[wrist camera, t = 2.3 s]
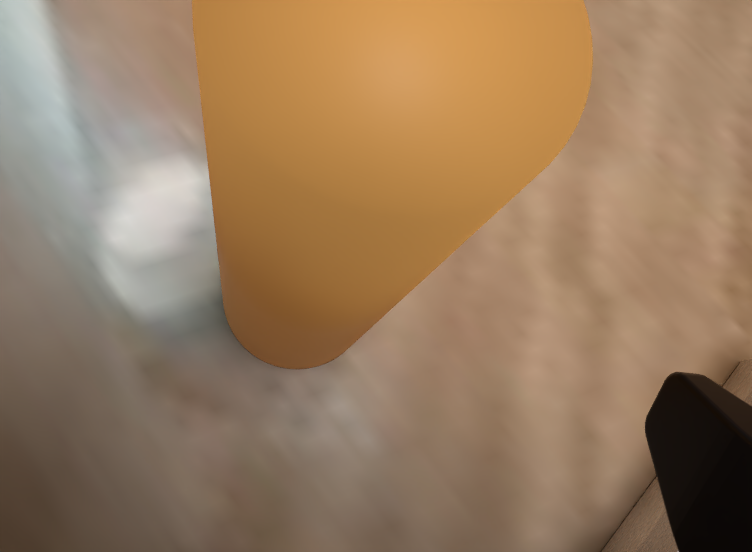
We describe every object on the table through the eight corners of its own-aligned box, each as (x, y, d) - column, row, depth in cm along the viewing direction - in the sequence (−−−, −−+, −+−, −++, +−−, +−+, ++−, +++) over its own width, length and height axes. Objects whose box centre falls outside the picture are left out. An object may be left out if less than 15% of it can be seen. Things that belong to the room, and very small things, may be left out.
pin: (297, 400, 19) (414, 304, 6) (191, 294, 19) (98, -7, 6) (398, 297, 20) (664, 44, 7) (297, 198, 20) (393, -213, 8)
